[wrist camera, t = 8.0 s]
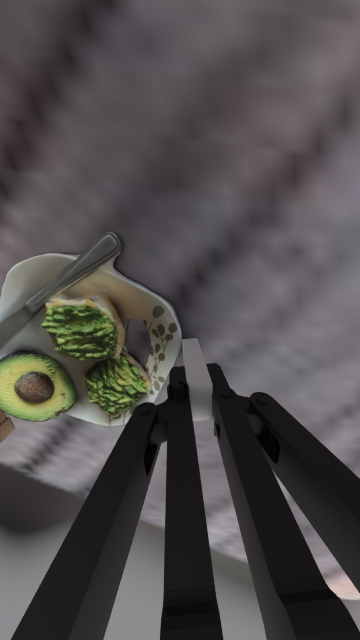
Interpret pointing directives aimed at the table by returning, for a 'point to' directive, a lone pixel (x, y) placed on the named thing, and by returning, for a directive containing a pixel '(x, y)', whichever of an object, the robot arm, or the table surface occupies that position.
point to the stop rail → (5, 426)
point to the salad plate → (80, 338)
